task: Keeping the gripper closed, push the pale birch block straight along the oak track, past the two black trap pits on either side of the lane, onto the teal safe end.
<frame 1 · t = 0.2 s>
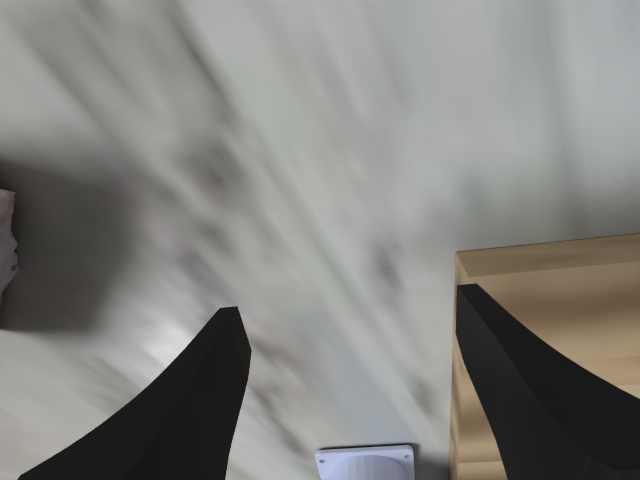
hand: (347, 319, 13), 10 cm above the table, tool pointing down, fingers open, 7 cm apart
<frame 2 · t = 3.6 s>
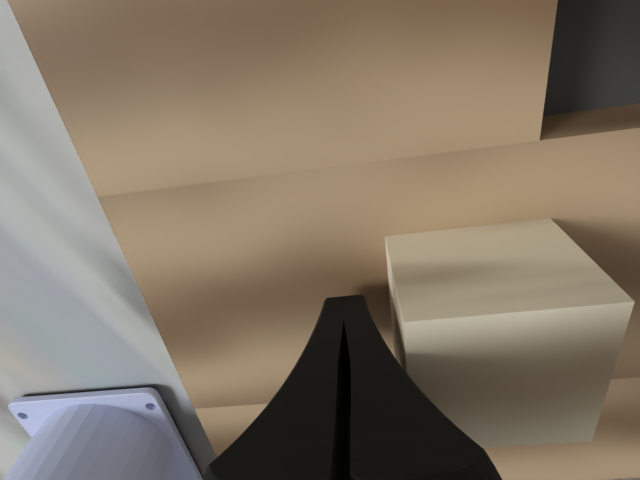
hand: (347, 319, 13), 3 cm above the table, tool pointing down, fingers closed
track: (548, 241, 16), on the table
block: (463, 291, 14), point 3 cm above the table, touching gripper, track
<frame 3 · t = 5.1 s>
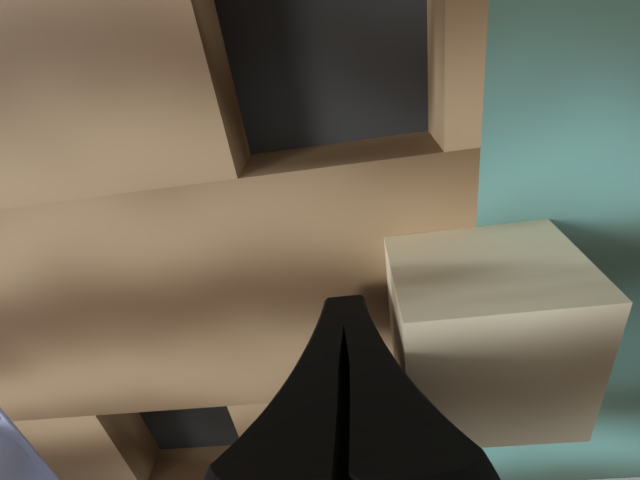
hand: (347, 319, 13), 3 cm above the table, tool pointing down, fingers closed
track: (328, 264, 16), on the table
block: (462, 292, 14), point 3 cm above the table, touching gripper, track
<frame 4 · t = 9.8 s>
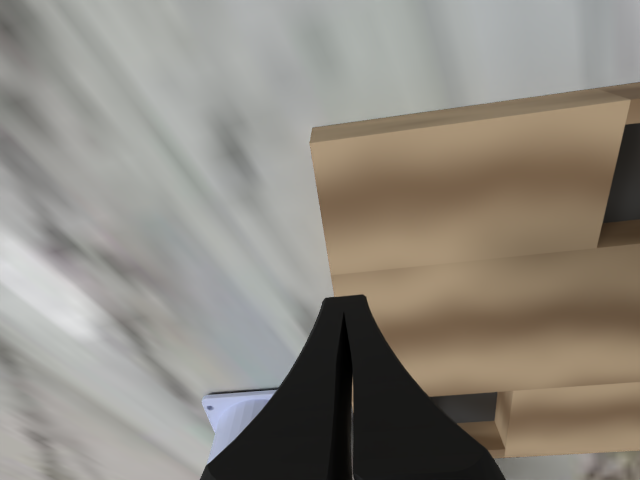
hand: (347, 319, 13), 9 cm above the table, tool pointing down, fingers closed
track: (592, 293, 24), on the table
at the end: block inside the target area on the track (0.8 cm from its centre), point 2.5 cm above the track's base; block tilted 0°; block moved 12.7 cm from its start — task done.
